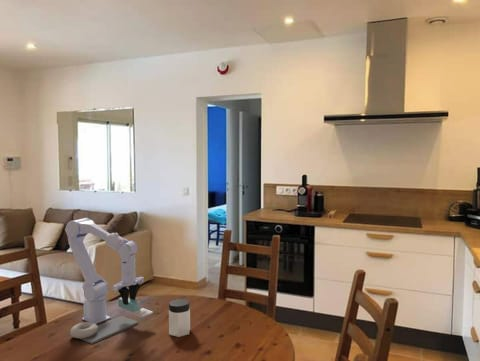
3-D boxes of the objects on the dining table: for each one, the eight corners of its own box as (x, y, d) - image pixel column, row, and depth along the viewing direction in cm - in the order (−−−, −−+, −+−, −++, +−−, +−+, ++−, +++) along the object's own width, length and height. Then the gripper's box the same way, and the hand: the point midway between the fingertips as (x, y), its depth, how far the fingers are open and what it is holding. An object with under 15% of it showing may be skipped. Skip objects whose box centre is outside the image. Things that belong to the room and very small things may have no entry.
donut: (81, 333, 146) (64, 328, 151) (82, 342, 146) (64, 336, 151) (103, 323, 155) (86, 318, 160) (103, 331, 155) (86, 327, 160)
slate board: (74, 336, 153) (74, 334, 153) (121, 317, 171) (121, 315, 171) (91, 344, 146) (91, 342, 146) (138, 323, 164) (138, 321, 164)
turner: (115, 307, 165) (115, 299, 164) (127, 303, 169) (127, 295, 169) (141, 318, 156) (141, 309, 155) (152, 313, 160) (153, 304, 160)
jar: (170, 327, 160) (170, 298, 160) (191, 327, 161) (190, 298, 160) (167, 337, 152) (167, 306, 151) (189, 337, 152) (188, 306, 151)
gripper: (120, 276, 155) (121, 310, 156) (148, 268, 167) (148, 299, 168) (109, 273, 159) (109, 306, 160) (137, 265, 171) (137, 296, 172)
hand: (129, 303), depth 164 cm, fingers closed on turner, 3 cm apart
